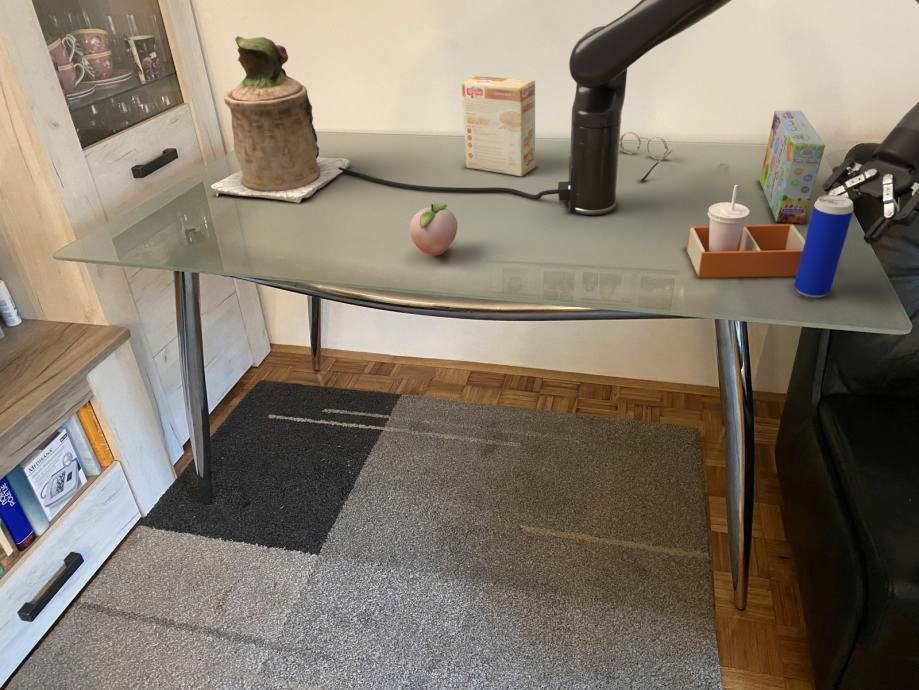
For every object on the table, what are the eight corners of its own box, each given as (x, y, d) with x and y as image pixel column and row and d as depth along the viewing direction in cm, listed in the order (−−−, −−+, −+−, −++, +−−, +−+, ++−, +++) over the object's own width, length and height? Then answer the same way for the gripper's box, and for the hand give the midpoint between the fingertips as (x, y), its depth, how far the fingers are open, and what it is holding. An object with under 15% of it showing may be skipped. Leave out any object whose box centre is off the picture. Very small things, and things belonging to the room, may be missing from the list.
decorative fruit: (422, 242, 130) (417, 192, 125) (463, 245, 128) (460, 194, 123) (405, 265, 123) (399, 213, 117) (448, 269, 121) (444, 216, 115)
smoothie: (719, 275, 113) (734, 195, 105) (692, 260, 118) (703, 182, 110) (748, 265, 116) (764, 185, 108) (720, 250, 120) (733, 174, 113)
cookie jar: (304, 205, 149) (272, 47, 131) (209, 197, 156) (167, 47, 138) (353, 165, 168) (332, 23, 150) (267, 159, 175) (236, 23, 157)
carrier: (698, 277, 113) (702, 253, 111) (686, 249, 122) (689, 226, 119) (807, 276, 112) (813, 251, 109) (787, 247, 120) (792, 223, 117)
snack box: (807, 224, 127) (827, 144, 118) (774, 223, 128) (792, 143, 119) (786, 181, 144) (802, 108, 135) (757, 181, 145) (772, 108, 136)
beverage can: (829, 285, 109) (855, 196, 100) (829, 301, 105) (855, 209, 96) (794, 280, 111) (816, 192, 102) (792, 295, 107) (815, 205, 98)
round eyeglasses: (677, 162, 157) (679, 140, 154) (644, 183, 148) (646, 160, 145) (612, 149, 167) (613, 128, 164) (577, 168, 157) (578, 146, 155)
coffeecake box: (536, 167, 160) (536, 79, 149) (521, 177, 155) (520, 88, 144) (480, 158, 167) (477, 74, 156) (465, 168, 162) (460, 82, 151)
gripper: (867, 114, 104) (794, 202, 106) (960, 138, 93) (877, 236, 96) (881, 142, 108) (812, 226, 111) (971, 168, 98) (892, 261, 100)
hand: (842, 231), depth 103 cm, fingers open, 8 cm apart
